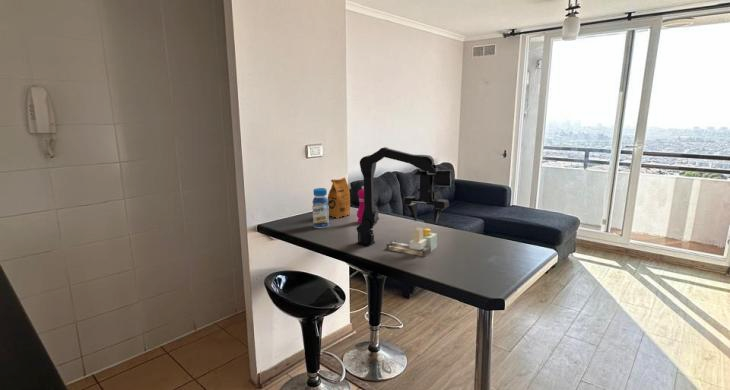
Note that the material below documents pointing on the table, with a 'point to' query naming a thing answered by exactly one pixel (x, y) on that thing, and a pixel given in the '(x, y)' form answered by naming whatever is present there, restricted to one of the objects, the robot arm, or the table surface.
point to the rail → (407, 249)
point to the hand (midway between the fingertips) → (425, 221)
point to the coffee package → (339, 198)
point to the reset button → (426, 232)
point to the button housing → (431, 241)
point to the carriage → (418, 239)
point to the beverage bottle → (320, 208)
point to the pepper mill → (361, 207)
